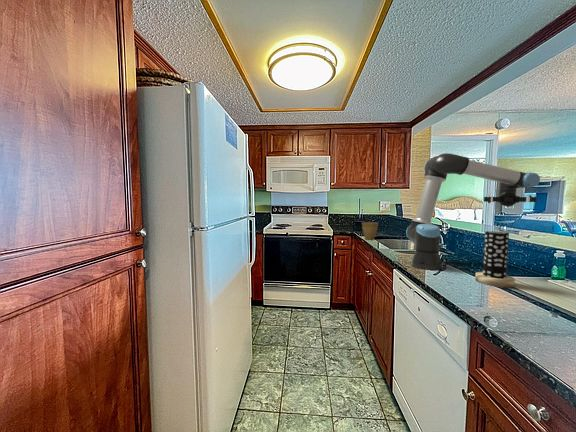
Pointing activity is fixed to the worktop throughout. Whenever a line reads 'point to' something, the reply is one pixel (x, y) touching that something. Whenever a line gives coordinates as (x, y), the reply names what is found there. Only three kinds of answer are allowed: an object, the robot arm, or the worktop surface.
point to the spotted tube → (495, 254)
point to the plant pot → (369, 230)
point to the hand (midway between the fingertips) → (509, 199)
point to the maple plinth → (495, 280)
